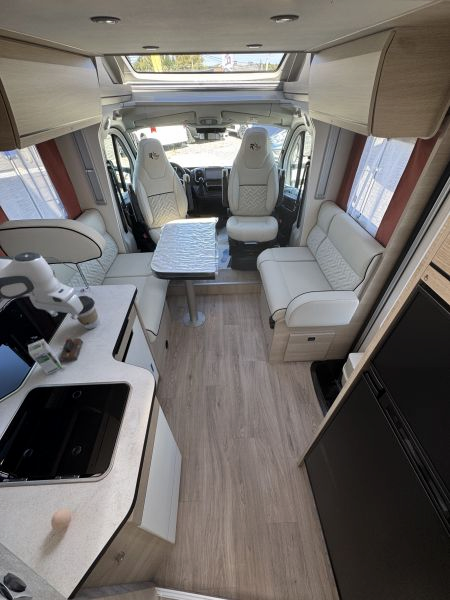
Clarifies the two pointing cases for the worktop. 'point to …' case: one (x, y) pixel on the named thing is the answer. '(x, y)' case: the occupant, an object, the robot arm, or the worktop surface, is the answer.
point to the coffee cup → (88, 313)
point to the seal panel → (72, 351)
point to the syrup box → (44, 356)
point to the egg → (61, 519)
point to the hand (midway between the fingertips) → (65, 316)
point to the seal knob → (68, 345)
